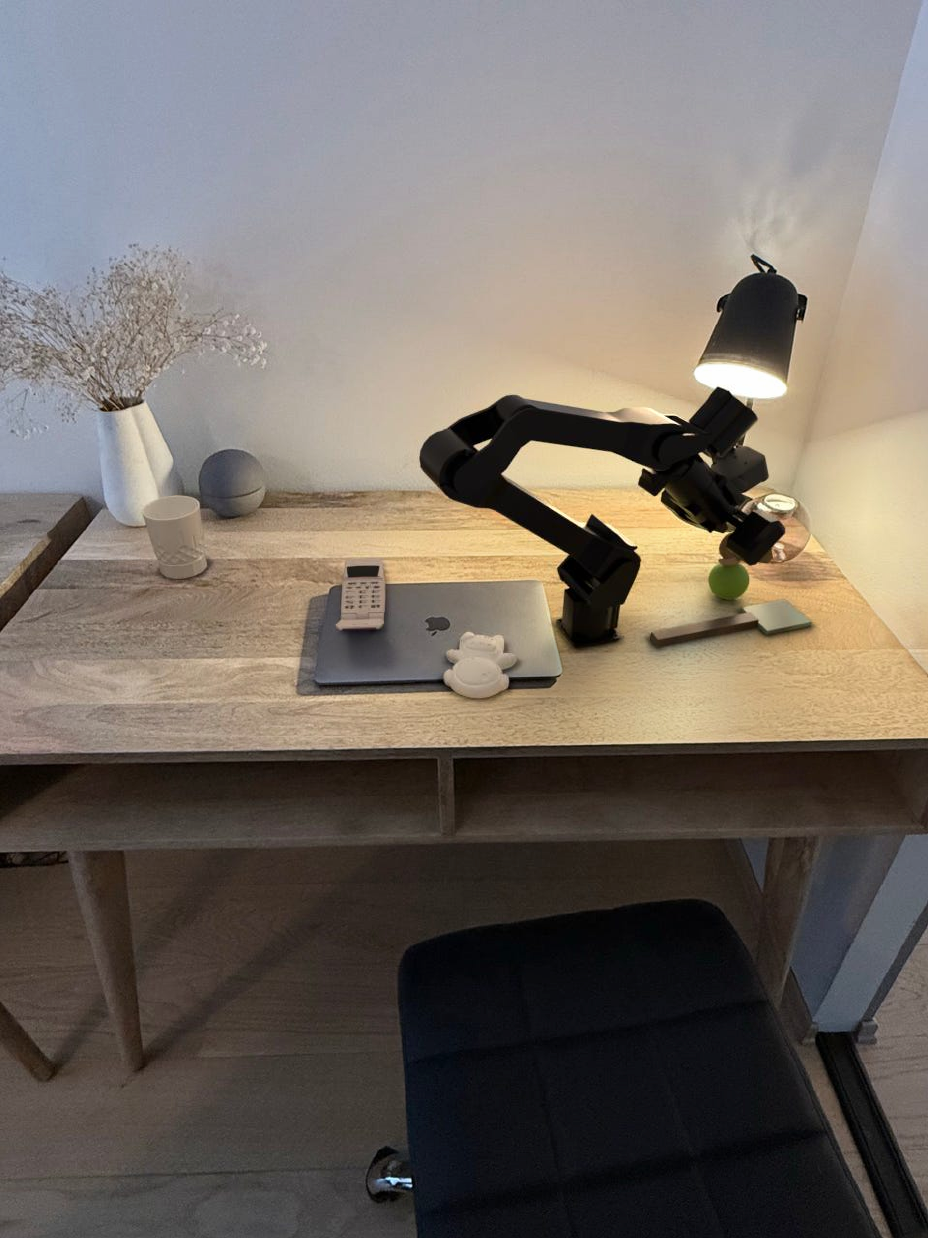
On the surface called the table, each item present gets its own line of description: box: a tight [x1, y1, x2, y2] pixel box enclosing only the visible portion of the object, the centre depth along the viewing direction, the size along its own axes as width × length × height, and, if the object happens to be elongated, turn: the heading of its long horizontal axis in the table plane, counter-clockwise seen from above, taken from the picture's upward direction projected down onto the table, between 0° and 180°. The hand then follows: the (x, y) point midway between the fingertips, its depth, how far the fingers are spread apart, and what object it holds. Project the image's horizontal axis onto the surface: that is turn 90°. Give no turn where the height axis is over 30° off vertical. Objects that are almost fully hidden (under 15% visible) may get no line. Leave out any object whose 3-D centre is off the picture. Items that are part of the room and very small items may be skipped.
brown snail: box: [707, 530, 750, 600], centre depth 113 cm, size 5×6×12 cm
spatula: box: [649, 598, 813, 648], centre depth 109 cm, size 22×6×1 cm, turn 108°
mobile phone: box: [335, 557, 386, 631], centre depth 111 cm, size 6×6×25 cm
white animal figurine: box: [442, 631, 518, 699], centre depth 101 cm, size 9×12×3 cm
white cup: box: [141, 495, 208, 580], centre depth 120 cm, size 8×8×10 cm
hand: (746, 544), depth 112 cm, fingers open, 9 cm apart
